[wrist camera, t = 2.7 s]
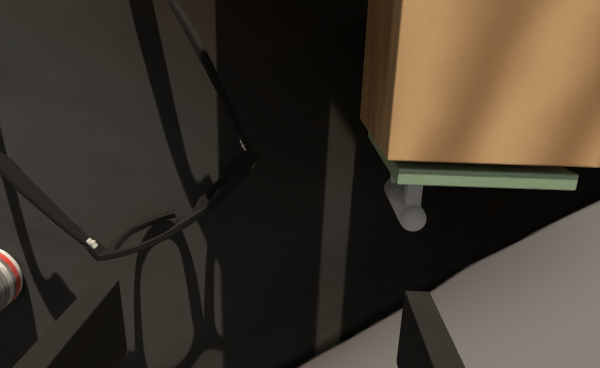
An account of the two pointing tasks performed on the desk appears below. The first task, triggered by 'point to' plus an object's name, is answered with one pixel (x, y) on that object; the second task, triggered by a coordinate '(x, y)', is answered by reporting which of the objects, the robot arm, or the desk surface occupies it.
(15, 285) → the pill bottle
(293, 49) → the desk surface
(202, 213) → the glasses
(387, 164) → the sliding door
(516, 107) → the cabinet
